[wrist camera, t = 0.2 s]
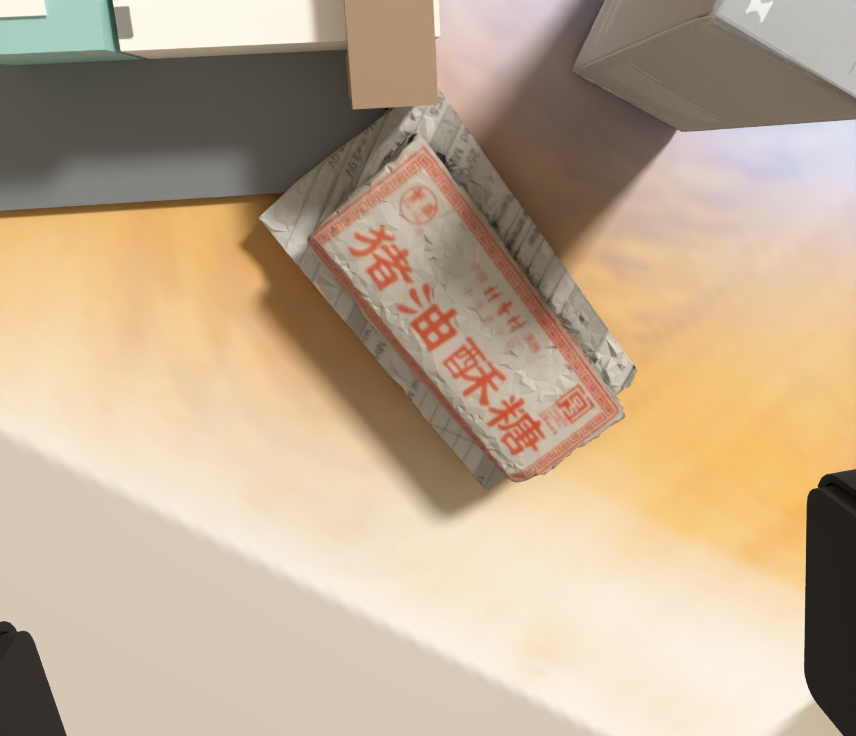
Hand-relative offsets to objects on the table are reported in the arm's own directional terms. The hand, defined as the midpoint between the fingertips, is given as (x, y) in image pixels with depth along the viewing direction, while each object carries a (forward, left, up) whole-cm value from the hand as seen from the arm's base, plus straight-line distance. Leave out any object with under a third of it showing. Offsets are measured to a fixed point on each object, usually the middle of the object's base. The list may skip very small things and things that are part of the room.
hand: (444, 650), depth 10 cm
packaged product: (+3, +5, -31) cm, 31 cm away
